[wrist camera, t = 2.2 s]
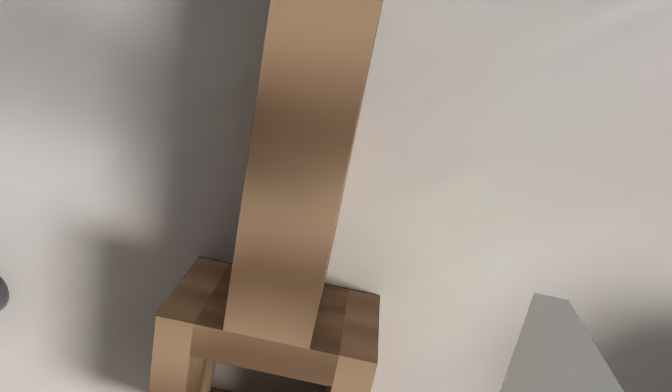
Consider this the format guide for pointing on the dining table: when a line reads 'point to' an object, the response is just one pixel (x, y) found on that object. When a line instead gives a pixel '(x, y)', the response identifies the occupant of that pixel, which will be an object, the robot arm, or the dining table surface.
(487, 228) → the dining table surface
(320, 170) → the link
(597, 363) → the robot arm
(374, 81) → the dining table surface
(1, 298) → the pintle
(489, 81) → the dining table surface
